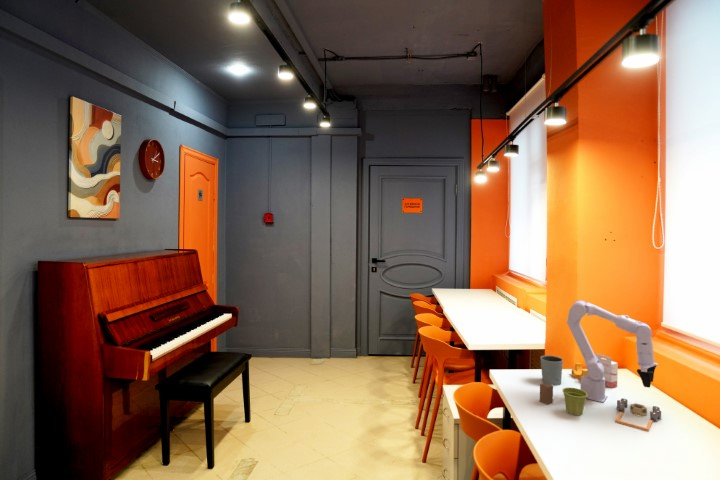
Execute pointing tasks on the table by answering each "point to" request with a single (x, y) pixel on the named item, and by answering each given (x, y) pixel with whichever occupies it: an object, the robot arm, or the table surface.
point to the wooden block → (546, 393)
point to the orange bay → (633, 424)
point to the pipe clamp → (578, 371)
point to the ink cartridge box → (609, 370)
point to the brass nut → (638, 409)
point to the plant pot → (574, 400)
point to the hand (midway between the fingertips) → (648, 384)
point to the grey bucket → (551, 369)
